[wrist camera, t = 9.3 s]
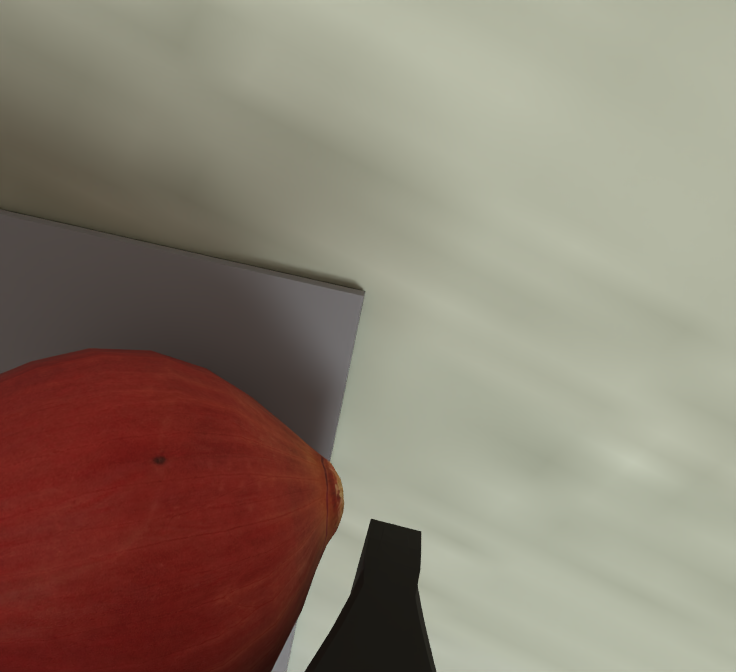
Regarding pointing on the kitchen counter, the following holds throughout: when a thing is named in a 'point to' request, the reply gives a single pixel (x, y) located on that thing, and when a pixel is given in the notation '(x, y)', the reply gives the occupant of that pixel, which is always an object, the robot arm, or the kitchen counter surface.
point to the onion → (151, 518)
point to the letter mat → (180, 319)
